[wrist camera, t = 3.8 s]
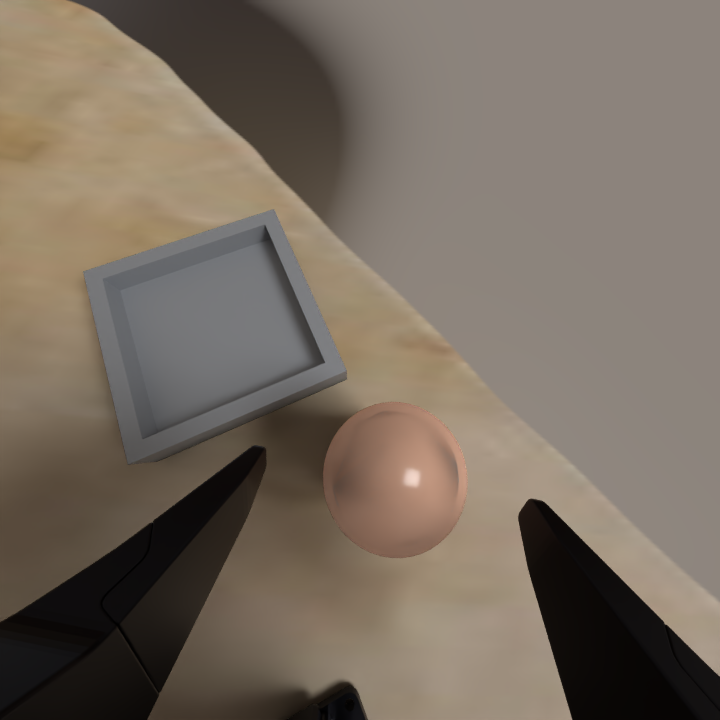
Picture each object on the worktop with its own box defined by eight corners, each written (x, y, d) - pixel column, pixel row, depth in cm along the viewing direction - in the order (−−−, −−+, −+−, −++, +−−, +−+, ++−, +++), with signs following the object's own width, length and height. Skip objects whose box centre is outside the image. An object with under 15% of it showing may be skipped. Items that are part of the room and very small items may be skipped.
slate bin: (347, 379, 20) (346, 370, 17) (157, 461, 18) (128, 464, 16) (281, 233, 23) (273, 209, 20) (113, 290, 21) (83, 271, 19)
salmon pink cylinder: (425, 478, 18) (494, 513, 10) (354, 515, 18) (359, 588, 9) (391, 407, 19) (425, 380, 11) (323, 438, 19) (301, 437, 10)
